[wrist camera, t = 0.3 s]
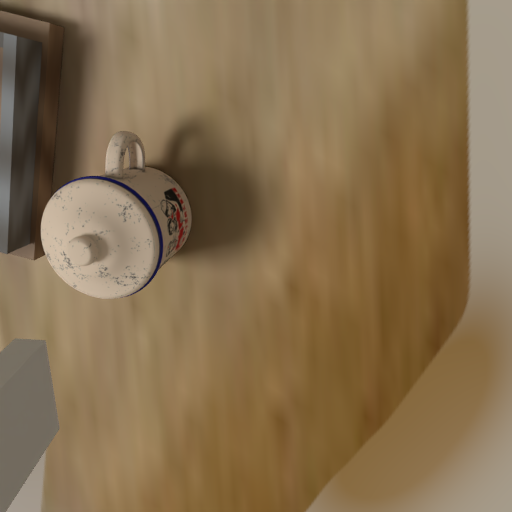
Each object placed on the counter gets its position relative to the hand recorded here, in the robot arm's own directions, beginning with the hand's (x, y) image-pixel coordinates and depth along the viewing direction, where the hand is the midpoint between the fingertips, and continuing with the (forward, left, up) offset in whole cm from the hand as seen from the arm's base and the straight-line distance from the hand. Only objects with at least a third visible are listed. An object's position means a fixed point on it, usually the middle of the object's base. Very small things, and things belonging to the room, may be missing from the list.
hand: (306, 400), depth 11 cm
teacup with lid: (+4, -14, -28) cm, 31 cm away
